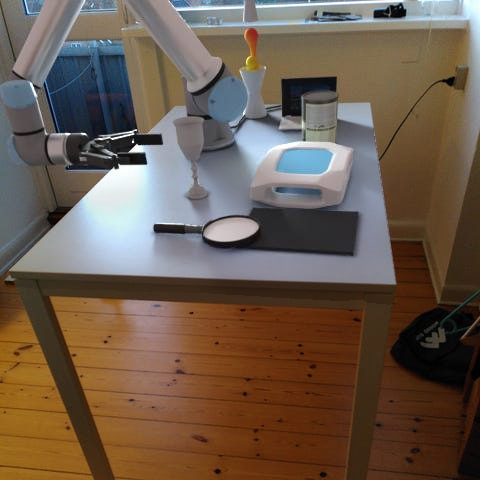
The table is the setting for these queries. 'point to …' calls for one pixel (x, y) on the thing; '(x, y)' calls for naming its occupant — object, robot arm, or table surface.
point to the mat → (305, 231)
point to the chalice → (191, 148)
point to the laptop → (292, 97)
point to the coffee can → (319, 116)
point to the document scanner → (303, 174)
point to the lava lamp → (252, 67)
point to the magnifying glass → (219, 231)
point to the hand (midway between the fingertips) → (154, 148)
